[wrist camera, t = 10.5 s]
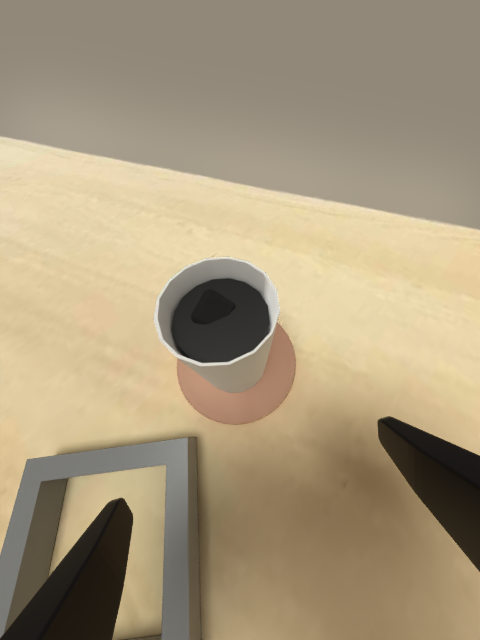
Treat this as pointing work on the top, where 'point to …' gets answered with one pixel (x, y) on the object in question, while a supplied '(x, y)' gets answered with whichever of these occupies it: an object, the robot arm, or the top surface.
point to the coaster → (251, 401)
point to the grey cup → (220, 320)
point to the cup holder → (44, 513)
